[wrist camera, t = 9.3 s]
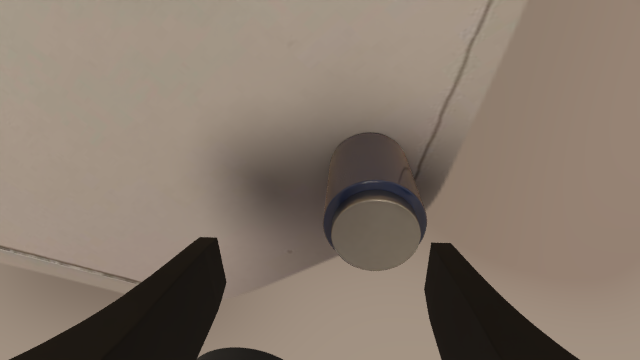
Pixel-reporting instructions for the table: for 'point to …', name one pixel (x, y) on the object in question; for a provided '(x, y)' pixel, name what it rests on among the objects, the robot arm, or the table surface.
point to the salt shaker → (372, 204)
